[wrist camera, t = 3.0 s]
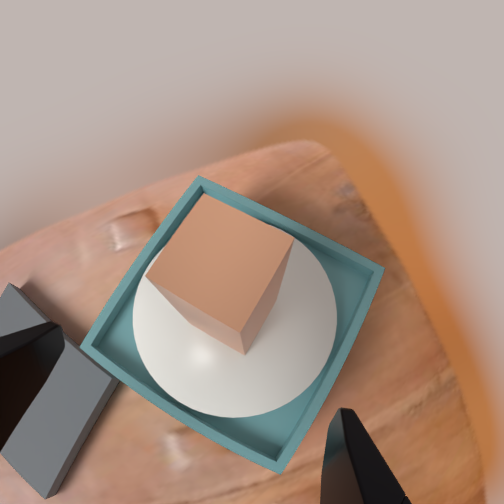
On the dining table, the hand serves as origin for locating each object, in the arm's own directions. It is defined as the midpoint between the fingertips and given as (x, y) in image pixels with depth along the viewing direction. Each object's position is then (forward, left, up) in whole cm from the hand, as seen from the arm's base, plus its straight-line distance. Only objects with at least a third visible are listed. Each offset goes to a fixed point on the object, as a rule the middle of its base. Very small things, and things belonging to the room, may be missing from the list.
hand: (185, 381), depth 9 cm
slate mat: (+12, +10, -11) cm, 19 cm away
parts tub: (+1, -3, -11) cm, 12 cm away
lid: (+1, -3, -6) cm, 7 cm away
